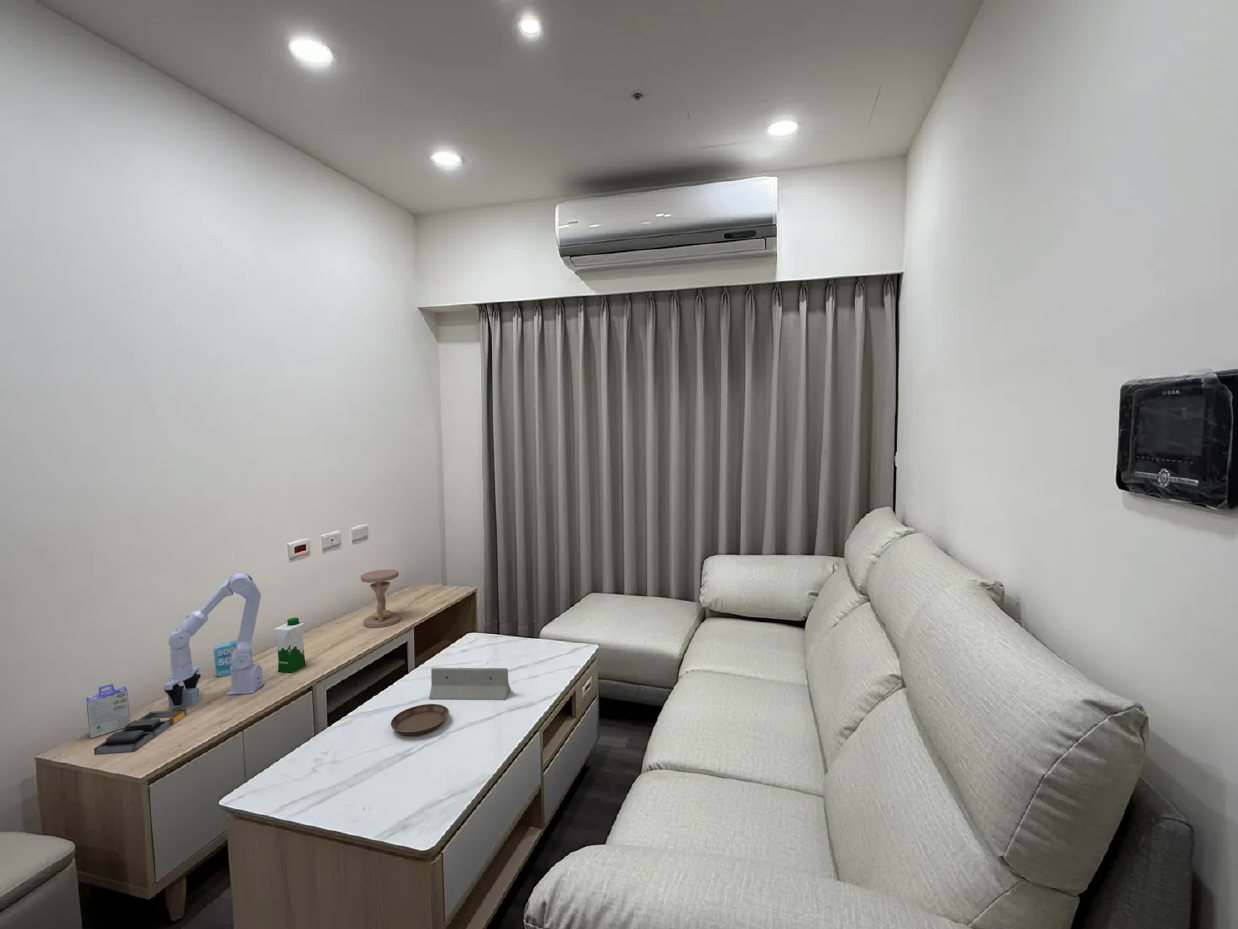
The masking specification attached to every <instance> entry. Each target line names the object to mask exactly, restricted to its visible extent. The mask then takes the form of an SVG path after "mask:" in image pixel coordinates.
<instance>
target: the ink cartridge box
mask: <svg viewBox="0 0 1238 929" xmlns="http://www.w3.org/2000/svg"><path fill="white" fill-rule="evenodd" d="M105 688H110V689H105ZM103 689H105V690H103ZM128 694H129V693H128V689H127V687H126V686H121V687H118V688H115V687H114V683H110V684H105V685H103V686H100V687H99V686H98V694H95V695H90V696H88V697H86V698H85V699H86V700H85V701H86V713H87V720H88V721H87V722H88V730H89V739H92V738H96V737H100V736H103V735H106V734H108V733H109V734H110V733H112V732H115V731H118V730H123V729H125V726H126V725H128V724H129V723H131V719H130V718H131V716H130V704H129V695H128Z"/></svg>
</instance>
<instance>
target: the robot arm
mask: <svg viewBox="0 0 1238 929" xmlns="http://www.w3.org/2000/svg"><path fill="white" fill-rule="evenodd" d="M234 593H235V594H238V595H240V596H241V597H242V598H244V599H245V603H244V607H243V613H242V617H241V621H240V627H239V631H238V637H237V640H236V641H237V643H236V647H235V649H234V650H233V651H232V653H231V658H232V660H231V665H232V666H231V667H230V671H231V674H230V681H231V682H230V683H231V690H228V692H226V694H225V695H227V696H230V695H231V696H232V695H243V694H252V693H255V692H256V691H257V690H258V689H259V688H261V687H262V686H263V685H265V682H264V677H263V676H264V674H263V667H262V666H261V665H259V664H255V662H254V661H253V656H252V657H251V652H252V643H253V642H252V641H253V637H254V631H255V627H256V622H257V617H258V613H259V608H260V602H261V597H262V592H261V591H260V589H259V587H258V586H257V584H256V582H255V580H254V578H253V577H252V576H250V574H248V573H247V572H245V571H237V572H234V573H233V574H232V575H231V576H230V578H227V579H226V580H225V581H224V582H222V584H221V585H220V586H219V587H218V588H217V589H216V590H215V592H214V593H213V594H212V595H211V596H210V597H209V598H208V600H206V602H205V603H204V604H203V605H202V606H201V608H200V609H198V610H193V611H192V612H191V613H189V612H188V613H187V615H186V616H185V619H184V620H183V621H182V623H180V625H177V626H176V627H175V630H173V631H172V632H171V633H170V634H169V638H168V646H169V650H170V653H169V656H170V670H171V675H170V676H169V677H168V679H169V680H168V682H166V683H165V684H164V685H163V686H164V688H163V691H164V692H165V693H166V694H167V696H168V695H169V696H170V698H171V700H172V702H173V704H174V706H177V705H181V703H182V692H183V689H192V688H197V685H198V682H199V680H200V678H201V673H200V666H193V665H192V664H193V661H192V651H191V650H192V649H191V647H190V641H191V637H193V636H195V635H196V634H197V632H199V630H200V629H201V628H202V627H203V626H204V625H205V624H206V623H207V622H208V619H209V618H208V617H209V616H208V615H209V614H210V613H211V612H212V611H213V610H214V609H215V608H216V607H217V606H218V605H219V604H220V603H221V601H223V600H224V599H225V598H226V597H230V596H234ZM182 682H183V685H180V683H182Z"/></svg>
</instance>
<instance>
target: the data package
mask: <svg viewBox="0 0 1238 929" xmlns="http://www.w3.org/2000/svg"><path fill="white" fill-rule="evenodd" d="M236 643H237V640H232V641H229V642H225V643H223V642H222V643H219V644H216V645H215V646H214V648H213V654H214V655H213V656H214V659H213V660H214V668H215V669H214V670H215V674H216V676H217V677H219V678H220V677H225V676H231V671H230V667H231V666H232V665H231V660H232V658H231V653H232V651H233V650H234V649H235V647H236ZM252 653H253V652H252V651H251V657H252V658H253V654H252Z"/></svg>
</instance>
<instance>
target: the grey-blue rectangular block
mask: <svg viewBox="0 0 1238 929" xmlns="http://www.w3.org/2000/svg"><path fill="white" fill-rule="evenodd" d="M167 698H168V709H171V708H185V707H194V706H196V705H197V704H198V703H199V702H200V701H201V698H200V688H199V687H196V688H192V689H185V688H184V689H183V692H182V703H181V705H177V706H174V704H173V702H172V700H171V698H170V696H169V695H168V694H167Z"/></svg>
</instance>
